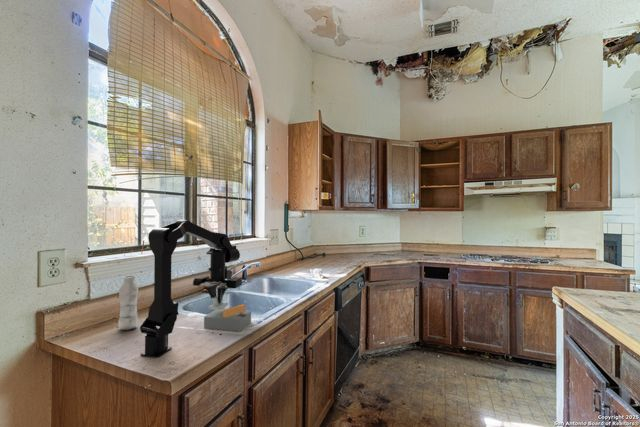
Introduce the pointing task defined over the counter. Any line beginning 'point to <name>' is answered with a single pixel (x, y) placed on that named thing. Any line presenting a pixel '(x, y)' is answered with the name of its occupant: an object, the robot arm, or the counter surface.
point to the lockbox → (227, 321)
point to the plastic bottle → (128, 304)
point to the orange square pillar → (234, 310)
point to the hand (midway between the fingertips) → (217, 303)
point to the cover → (217, 304)
